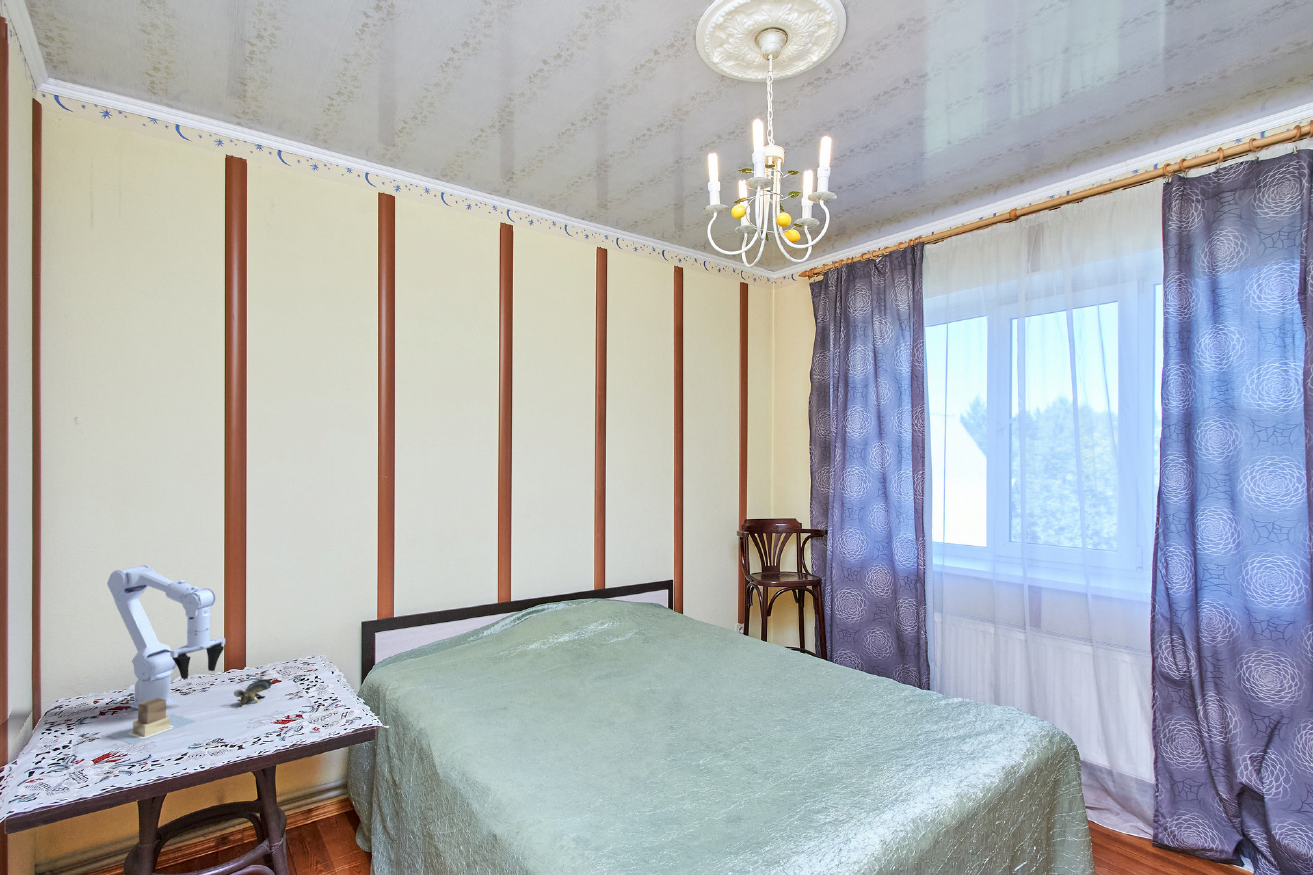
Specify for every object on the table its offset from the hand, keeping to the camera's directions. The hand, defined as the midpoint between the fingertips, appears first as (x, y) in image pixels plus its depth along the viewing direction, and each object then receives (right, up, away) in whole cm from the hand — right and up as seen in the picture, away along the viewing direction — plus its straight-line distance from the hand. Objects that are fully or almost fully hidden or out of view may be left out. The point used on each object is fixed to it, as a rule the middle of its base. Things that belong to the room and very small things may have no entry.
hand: (198, 674), depth 191 cm
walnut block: (-1, -6, -16) cm, 18 cm away
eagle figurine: (+13, -11, +5) cm, 18 cm away
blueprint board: (-2, -10, -15) cm, 18 cm away
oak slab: (-1, -9, -16) cm, 19 cm away
